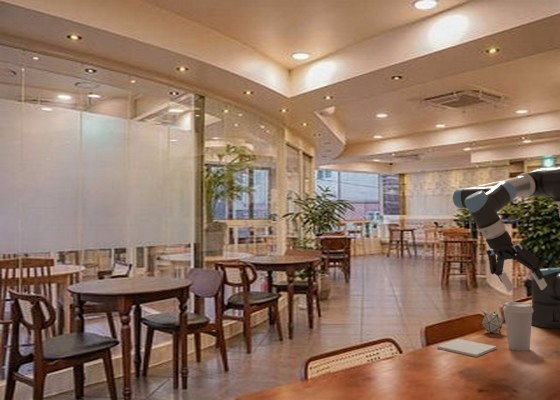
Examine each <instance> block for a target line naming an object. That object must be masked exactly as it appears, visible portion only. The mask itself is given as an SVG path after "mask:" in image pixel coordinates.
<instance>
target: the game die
mask: <svg viewBox="0 0 560 400" xmlns="http://www.w3.org/2000/svg"><path fill="white" fill-rule="evenodd" d="M483 314H484V316H483V319H482V321H481V323H479V324H478V325H479V326H482V328H484V329H485V330H486V332H489V335H491V334H492V333H493V334H494V333H499V334H502V332H501V329H503V324H504V323H506V320H503V319H502V318H501V317H499V314H497V313H496V311H493V312H492V313H491V312H490V313H486V312H483Z"/></svg>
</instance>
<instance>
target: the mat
mask: <svg viewBox="0 0 560 400" xmlns="http://www.w3.org/2000/svg"><path fill="white" fill-rule="evenodd" d="M436 348H437V349H439V350H443V351H447V352H451V353H455V354H461V355H464V356H470V357H474V358H478V357H480V356H482V355H485V354H487V353H491V352H492V351H495V350H497V346H496V345H491V344H486V343H480V342H476V341H471V340H466V339H461V338H457V339H454V340H451V341H448V342H446V343H443V344H440V345H437V347H436Z"/></svg>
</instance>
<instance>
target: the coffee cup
mask: <svg viewBox="0 0 560 400" xmlns="http://www.w3.org/2000/svg"><path fill="white" fill-rule="evenodd" d="M502 311H504V317H505V318H504V319H505V326H506V329H505V330H506V335H507V337H506V338H507V344H508V349H509V350H513V351H517V352H527V351H530V349H531V338H532V337H531V335H532V325H531V323H532V313H533V312H534V311H533V308H532V304H529V303H525V302H517V301H516V302H515V301H514V302H505V304H504V306H503V308H502Z"/></svg>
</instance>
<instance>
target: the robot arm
mask: <svg viewBox="0 0 560 400" xmlns="http://www.w3.org/2000/svg"><path fill="white" fill-rule="evenodd" d="M517 197H518V198H519V197H522V198H529V197H552V202H553V203H554V204H555V205H557V206H558V215H559V217H560V165H559V166H558V165H557V166H547V167H541V168H537V169H534V170H531V171H528V172H523V173H520V174H518V175H516V176H515V177H513V178H508V179H504V180H500V181H494V182H489V183H485V184H484V183H483V184H480V185H477V186H476V185H475V186H470V187H463V188H457V189H456V190H455V191H454V192H453V193H452V201H453V204H454V206H455V207H456V208H458V209H465V210H466V209H467V212H468V213H469V214H470V216H471V218H472V219H473V221H474V223H475V224H476V226H477V228H478V229H479V231H480V233H481V235H482V236H483V238H484V239H485V242H486V243H487V245H488V247H489V249H487V250H486V252H485V253H486V254H487V257H488V264H489V271H490V274H491V275H496V276H497V277H498V279H499V280H500V282H501V283H502V284H503V286H504V288H505V289H506V291H507V293H510V292H511V291H513V290H514V289H515V286H514V285H513V283H512V280H510V277H509V276H508V275H507V272H506V271H505V270H504V264H505V261H507V260H514V261H516V262H518V263H519V264H521V265H523V266H524V267H526V268H527V269H529V270H530V271H531V272H530V274H531V275H530V276H531V277H530V281H531V282H530V283H531V285H530V286H531V307H532V308H533V311H534V312H533V313H532V323H531V326H533V325H534V327H537V328H544V329H545V328H546V329H560V267H548V268H542V267H543V266H544V264H543V262H542V261H541V260H539V259H538V258H537V257H536V256H535V255H534V254H533V253H532V252H530V251H529V250H528V249H527V248H526V247H525V246H524V244H523V243H522V242H518V243H516V244H514V243H513V242H512V241H513V240H512V236H511V235H510V233H509V232H508V230H507V229H506V226H505V225H504V222H503V221H502V220H501V217H500V216H499V214H498V212H499V211H500V210H502V209H503V208H505V206H508V205H510V204H511V202H512V201H513V200H514V199H515V198H517Z"/></svg>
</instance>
